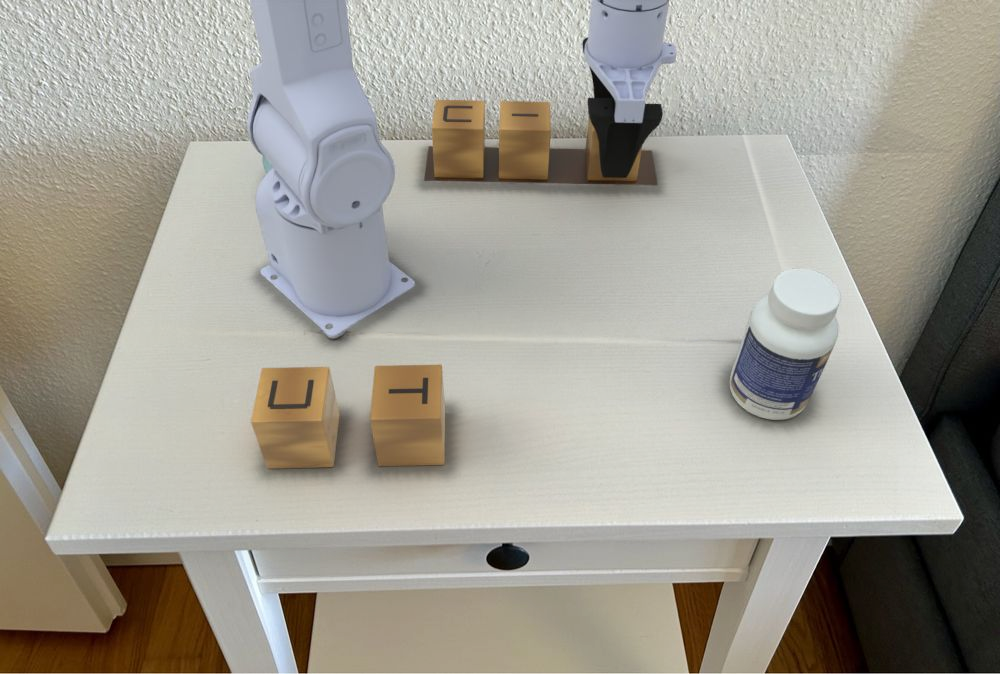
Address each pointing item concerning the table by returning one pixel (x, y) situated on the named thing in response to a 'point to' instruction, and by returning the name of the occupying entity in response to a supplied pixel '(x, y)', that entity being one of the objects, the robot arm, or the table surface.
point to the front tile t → (408, 415)
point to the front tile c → (296, 417)
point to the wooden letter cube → (594, 159)
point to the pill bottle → (786, 345)
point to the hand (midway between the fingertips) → (611, 147)
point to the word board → (552, 169)
